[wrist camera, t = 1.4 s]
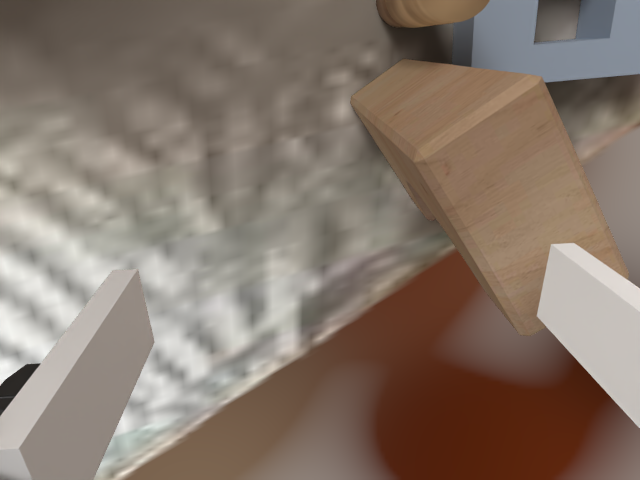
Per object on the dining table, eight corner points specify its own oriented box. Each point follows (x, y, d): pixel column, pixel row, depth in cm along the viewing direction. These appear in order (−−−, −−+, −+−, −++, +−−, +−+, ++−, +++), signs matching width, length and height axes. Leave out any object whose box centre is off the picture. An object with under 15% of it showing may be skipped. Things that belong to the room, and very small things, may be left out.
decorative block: (470, 169, 38) (637, 285, 20) (412, 205, 39) (522, 346, 21) (408, 53, 34) (549, 65, 16) (346, 97, 35) (411, 155, 17)
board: (457, -74, 31) (480, -90, 27) (652, -90, 31) (701, -107, 28) (451, 84, 35) (469, 89, 31) (622, 69, 36) (660, 72, 32)
